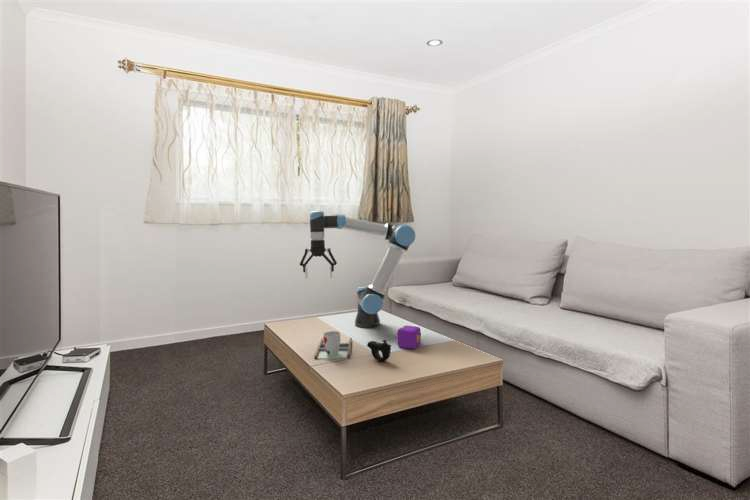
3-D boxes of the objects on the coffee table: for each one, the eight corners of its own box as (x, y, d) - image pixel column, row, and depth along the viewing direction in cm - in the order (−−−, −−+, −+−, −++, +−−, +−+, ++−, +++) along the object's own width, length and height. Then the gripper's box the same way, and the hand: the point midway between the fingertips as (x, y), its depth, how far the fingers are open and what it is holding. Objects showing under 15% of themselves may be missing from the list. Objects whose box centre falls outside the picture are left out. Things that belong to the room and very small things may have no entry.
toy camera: (423, 342, 215) (423, 323, 214) (417, 350, 202) (417, 330, 201) (403, 340, 218) (403, 321, 218) (396, 348, 206) (395, 328, 205)
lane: (351, 340, 220) (351, 337, 220) (349, 358, 193) (348, 355, 193) (321, 341, 220) (321, 338, 220) (314, 359, 193) (314, 355, 193)
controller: (386, 364, 184) (386, 342, 183) (366, 359, 192) (365, 337, 191) (393, 362, 187) (392, 340, 186) (372, 356, 195) (371, 335, 194)
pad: (347, 351, 203) (347, 350, 203) (346, 358, 193) (346, 357, 193) (319, 351, 203) (319, 351, 203) (316, 358, 193) (316, 358, 193)
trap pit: (348, 345, 211) (348, 343, 211) (347, 351, 203) (347, 348, 203) (321, 346, 211) (321, 343, 211) (319, 351, 203) (319, 348, 203)
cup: (324, 351, 202) (323, 331, 201) (340, 350, 203) (340, 330, 202) (324, 357, 194) (323, 336, 193) (341, 356, 195) (340, 335, 194)
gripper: (293, 240, 224) (295, 279, 226) (339, 239, 225) (340, 278, 226) (296, 239, 232) (297, 277, 234) (340, 238, 232) (341, 276, 234)
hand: (318, 278), depth 230 cm, fingers open, 13 cm apart
